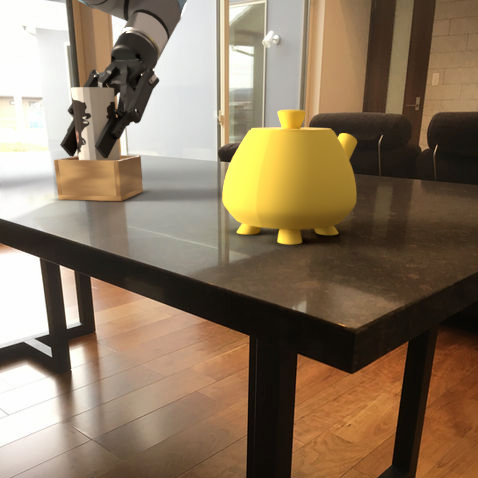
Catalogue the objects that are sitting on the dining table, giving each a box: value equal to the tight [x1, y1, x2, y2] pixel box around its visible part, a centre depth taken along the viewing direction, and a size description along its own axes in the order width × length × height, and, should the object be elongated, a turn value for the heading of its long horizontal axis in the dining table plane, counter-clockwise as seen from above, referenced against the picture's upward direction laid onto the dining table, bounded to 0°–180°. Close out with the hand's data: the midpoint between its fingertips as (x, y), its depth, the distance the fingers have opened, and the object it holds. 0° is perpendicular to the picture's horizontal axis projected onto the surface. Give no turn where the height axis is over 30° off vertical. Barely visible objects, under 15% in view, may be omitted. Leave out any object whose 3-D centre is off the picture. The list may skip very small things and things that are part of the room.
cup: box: [70, 86, 120, 161], centre depth 86 cm, size 7×7×15 cm
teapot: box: [222, 109, 358, 245], centre depth 61 cm, size 20×16×14 cm
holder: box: [53, 154, 144, 202], centre depth 89 cm, size 11×11×6 cm
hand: (83, 151), depth 84 cm, fingers closed on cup, 7 cm apart
